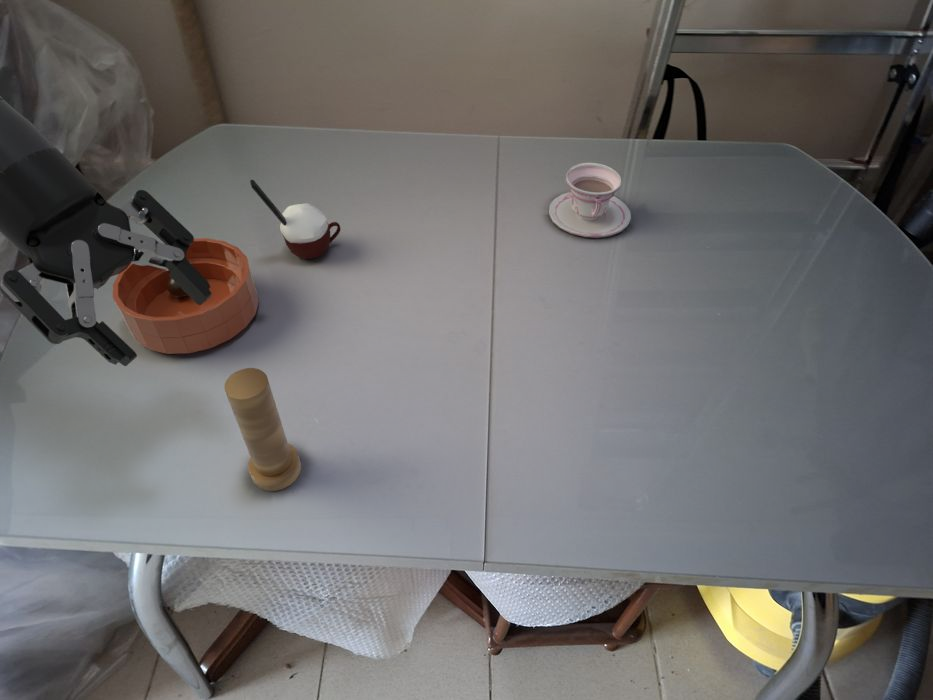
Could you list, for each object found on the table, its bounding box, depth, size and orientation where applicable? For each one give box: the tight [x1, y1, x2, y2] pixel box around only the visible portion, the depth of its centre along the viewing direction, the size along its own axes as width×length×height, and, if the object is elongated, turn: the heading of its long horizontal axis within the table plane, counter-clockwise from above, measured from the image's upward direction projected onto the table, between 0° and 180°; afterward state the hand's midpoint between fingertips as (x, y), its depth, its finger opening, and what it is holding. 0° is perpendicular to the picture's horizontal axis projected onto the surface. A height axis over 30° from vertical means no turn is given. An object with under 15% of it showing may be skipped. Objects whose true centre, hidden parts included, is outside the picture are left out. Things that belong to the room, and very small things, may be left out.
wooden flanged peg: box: [223, 367, 302, 492], centre depth 60 cm, size 5×5×13 cm
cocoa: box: [249, 179, 341, 260], centre depth 86 cm, size 10×6×12 cm, turn 89°
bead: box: [167, 277, 188, 298], centre depth 81 cm, size 3×3×3 cm
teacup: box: [548, 162, 632, 239], centre depth 95 cm, size 12×12×6 cm
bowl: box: [112, 237, 260, 355], centre depth 79 cm, size 15×15×6 cm
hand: (170, 329), depth 56 cm, fingers open, 8 cm apart
